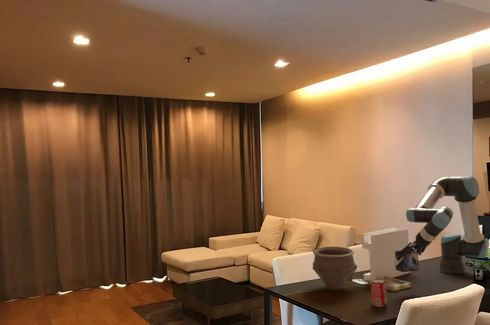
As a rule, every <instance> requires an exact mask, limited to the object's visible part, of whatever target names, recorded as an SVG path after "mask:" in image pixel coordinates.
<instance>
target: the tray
mask: <svg viewBox="0 0 490 325" xmlns="http://www.w3.org/2000/svg"><path fill="white" fill-rule="evenodd" d="M376 279H380V280H384V283H385V285H386V291H390V292H393V293H394V292H398V291H402V290H406V289H410V288H412V282H410V281H409V282H408V281H405V280H402V279H398V278H395V277H393V278H390V277H387V276H385V277H380V278H376ZM372 280H375V279H371V280H369V281H368V285H369V286H371V283H372Z"/></svg>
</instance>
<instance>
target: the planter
mask: <svg viewBox="0 0 490 325" xmlns="http://www.w3.org/2000/svg"><path fill="white" fill-rule="evenodd" d="M312 253H313V255H314V259H313V262H312V264H311V265H312V270H313V271H314V272H315V274H316V275H317V276H318V277H319V279H320V280H321V281H322V283H323V284H324V286H325V287H326V289H327V290H329V291H341V290H343V289H344V287H345V285H346V284H347V282H348V280H349V279H350V277H351V276H352V275H353V274H354V273H355V271H356V270H357V268H358V265H357V264H356V263H355V259H354V254H355V252H354V250H352V249H350V248H347V247H344V246H343V247H342V246H324V247H318V248H316V249H314V250H313V251H312Z"/></svg>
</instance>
